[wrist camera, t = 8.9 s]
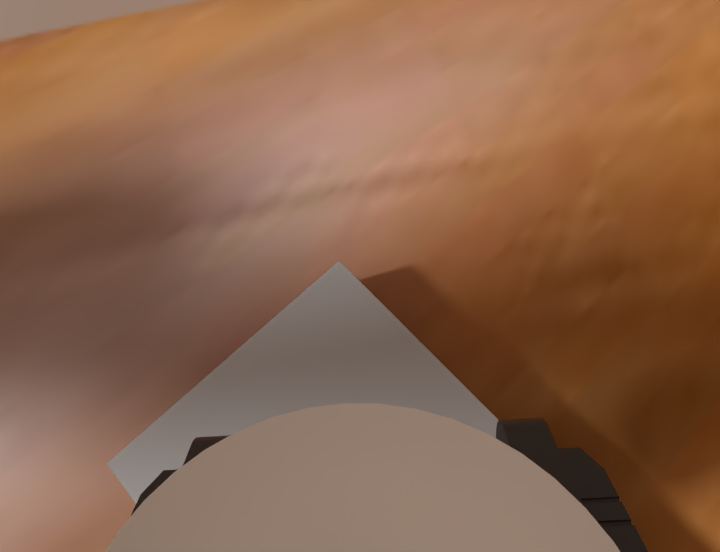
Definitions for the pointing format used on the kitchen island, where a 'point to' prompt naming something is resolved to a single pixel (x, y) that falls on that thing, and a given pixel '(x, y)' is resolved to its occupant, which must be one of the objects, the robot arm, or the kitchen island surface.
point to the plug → (361, 491)
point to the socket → (304, 377)
